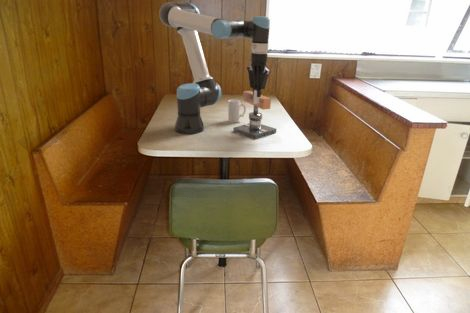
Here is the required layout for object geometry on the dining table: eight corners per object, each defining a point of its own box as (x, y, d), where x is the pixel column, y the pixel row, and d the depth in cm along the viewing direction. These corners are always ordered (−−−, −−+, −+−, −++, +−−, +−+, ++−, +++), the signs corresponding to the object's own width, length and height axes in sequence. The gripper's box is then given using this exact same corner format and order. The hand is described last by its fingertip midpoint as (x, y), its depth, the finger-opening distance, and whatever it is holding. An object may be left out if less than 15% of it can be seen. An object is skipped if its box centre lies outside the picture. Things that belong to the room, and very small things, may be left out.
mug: (227, 122, 193) (227, 101, 188) (228, 119, 199) (228, 99, 195) (245, 123, 193) (245, 102, 188) (245, 119, 199) (246, 99, 194)
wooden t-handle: (260, 124, 166) (261, 99, 162) (240, 114, 183) (241, 91, 178) (271, 122, 169) (273, 98, 165) (251, 113, 186) (252, 90, 181)
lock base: (233, 131, 179) (233, 118, 176) (254, 125, 189) (254, 113, 187) (255, 139, 168) (256, 125, 166) (276, 132, 179) (277, 119, 176)
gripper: (243, 51, 157) (241, 101, 166) (264, 54, 149) (261, 107, 158) (254, 50, 162) (251, 99, 171) (275, 53, 153) (271, 104, 163)
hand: (256, 103), depth 165 cm, fingers closed
